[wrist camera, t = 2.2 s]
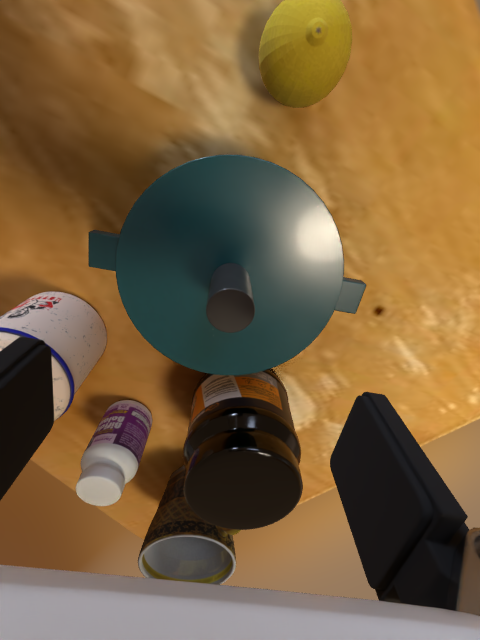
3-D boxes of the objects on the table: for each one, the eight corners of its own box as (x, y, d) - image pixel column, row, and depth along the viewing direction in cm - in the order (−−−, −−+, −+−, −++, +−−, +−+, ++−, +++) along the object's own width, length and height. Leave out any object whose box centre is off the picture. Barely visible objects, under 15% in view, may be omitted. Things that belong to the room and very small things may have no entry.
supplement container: (208, 345, 34) (197, 430, 23) (301, 371, 35) (332, 462, 24) (182, 420, 38) (162, 522, 27) (266, 440, 39) (280, 544, 28)
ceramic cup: (196, 515, 45) (187, 602, 36) (141, 478, 42) (116, 564, 33) (268, 470, 42) (278, 554, 32) (215, 426, 38) (210, 506, 29)
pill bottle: (126, 389, 36) (92, 461, 27) (162, 416, 37) (141, 492, 29) (96, 415, 37) (54, 491, 28) (132, 440, 39) (103, 519, 30)
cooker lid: (126, 129, 19) (81, 112, 13) (371, 184, 20) (424, 190, 15) (116, 351, 25) (83, 403, 19) (304, 379, 27) (324, 436, 21)
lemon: (243, 94, 24) (247, 63, 17) (275, 6, 22) (297, -72, 15) (306, 129, 25) (337, 113, 18) (343, 48, 23) (394, -7, 16)
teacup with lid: (63, 269, 30) (-30, 325, 19) (129, 341, 33) (81, 422, 23) (-23, 333, 32) (-146, 413, 22) (46, 394, 36) (-31, 489, 25)
